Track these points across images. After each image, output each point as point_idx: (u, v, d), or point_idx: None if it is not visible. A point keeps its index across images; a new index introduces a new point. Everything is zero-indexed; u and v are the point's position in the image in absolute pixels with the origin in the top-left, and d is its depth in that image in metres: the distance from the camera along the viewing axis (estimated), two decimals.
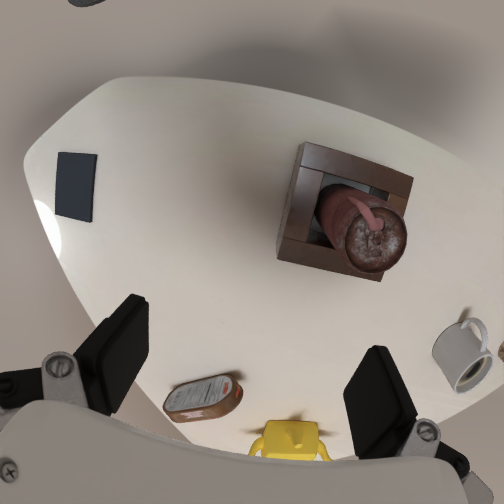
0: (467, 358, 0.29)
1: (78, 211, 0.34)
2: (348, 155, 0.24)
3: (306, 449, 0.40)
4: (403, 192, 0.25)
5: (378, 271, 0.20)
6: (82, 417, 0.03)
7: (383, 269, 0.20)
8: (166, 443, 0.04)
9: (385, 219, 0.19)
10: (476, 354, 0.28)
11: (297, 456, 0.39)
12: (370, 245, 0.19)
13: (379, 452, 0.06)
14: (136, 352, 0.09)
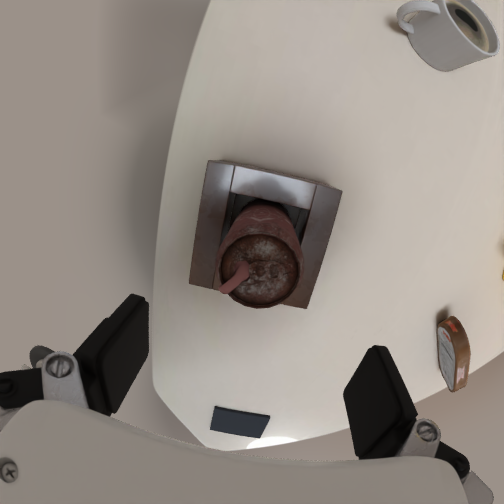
0: (451, 34, 0.14)
1: (259, 423, 0.42)
2: (195, 243, 0.26)
3: None
4: (226, 173, 0.23)
5: (298, 263, 0.18)
6: (82, 417, 0.03)
7: (296, 257, 0.17)
8: (166, 442, 0.04)
9: (234, 261, 0.18)
10: (444, 20, 0.13)
11: None
12: (265, 278, 0.18)
13: (379, 452, 0.06)
14: (136, 352, 0.09)
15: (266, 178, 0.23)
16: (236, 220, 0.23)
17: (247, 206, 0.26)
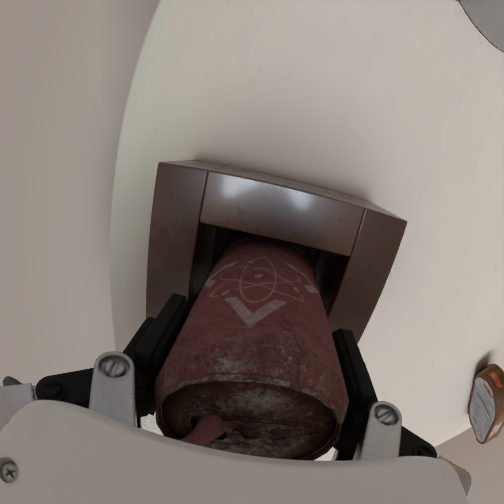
0: None
1: None
2: (148, 306, 0.14)
3: None
4: (192, 187, 0.12)
5: (337, 422, 0.06)
6: (82, 417, 0.03)
7: (335, 414, 0.06)
8: (166, 443, 0.04)
9: (190, 412, 0.07)
10: None
11: None
12: (260, 442, 0.07)
13: None
14: None
15: (270, 196, 0.12)
16: (208, 284, 0.11)
17: (235, 243, 0.15)
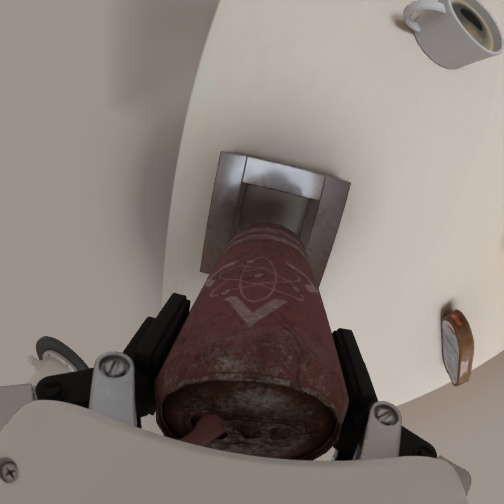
0: (457, 33, 0.14)
1: None
2: (207, 231, 0.26)
3: None
4: (239, 164, 0.24)
5: (338, 421, 0.06)
6: (82, 417, 0.03)
7: None
8: (166, 442, 0.04)
9: (190, 412, 0.07)
10: (450, 19, 0.13)
11: None
12: (260, 441, 0.07)
13: None
14: None
15: (277, 169, 0.24)
16: (208, 283, 0.11)
17: (235, 242, 0.15)
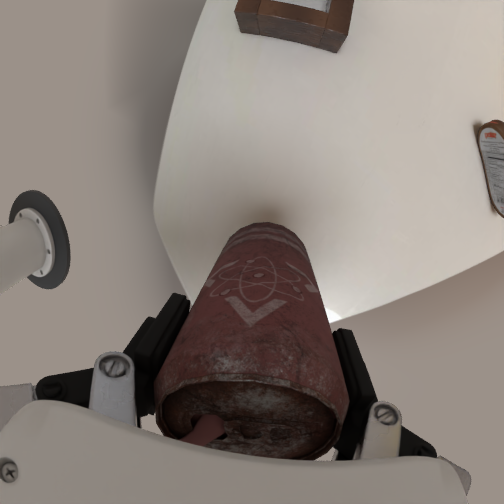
0: None
1: None
2: None
3: None
4: None
5: (338, 422, 0.06)
6: (82, 417, 0.03)
7: (335, 414, 0.06)
8: (166, 442, 0.04)
9: (189, 412, 0.07)
10: None
11: None
12: (260, 442, 0.07)
13: None
14: None
15: None
16: (208, 283, 0.11)
17: (235, 242, 0.15)
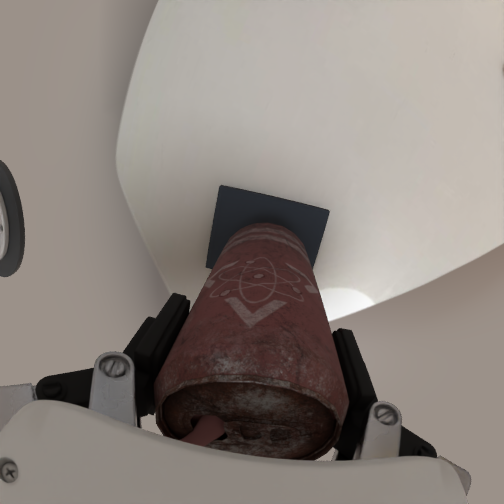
0: None
1: (308, 233, 0.24)
2: None
3: None
4: None
5: (338, 422, 0.06)
6: (82, 417, 0.03)
7: None
8: (166, 442, 0.04)
9: (189, 413, 0.07)
10: None
11: None
12: (260, 443, 0.07)
13: None
14: None
15: None
16: (208, 284, 0.11)
17: (235, 243, 0.15)
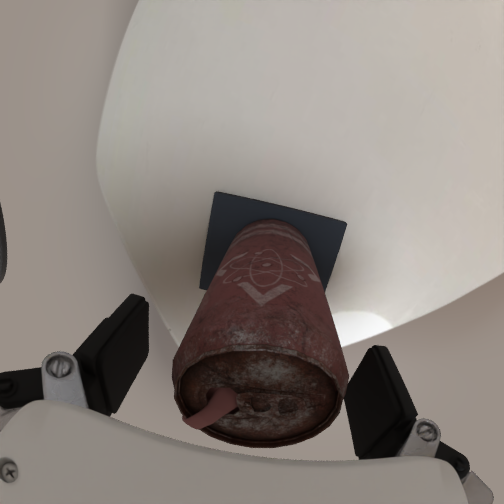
0: None
1: (321, 250, 0.20)
2: None
3: None
4: None
5: (339, 393, 0.07)
6: (82, 417, 0.03)
7: (337, 386, 0.07)
8: (166, 443, 0.04)
9: (206, 386, 0.08)
10: None
11: None
12: (269, 415, 0.08)
13: (379, 452, 0.06)
14: (136, 352, 0.09)
15: None
16: (219, 273, 0.12)
17: (243, 237, 0.16)
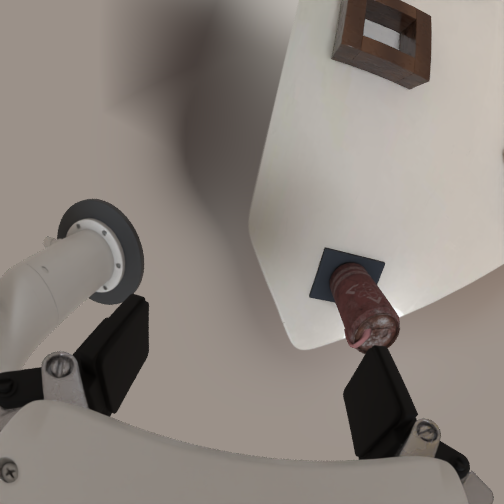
0: None
1: (372, 276, 0.38)
2: (346, 18, 0.22)
3: None
4: None
5: (398, 328, 0.25)
6: (82, 417, 0.03)
7: (398, 325, 0.25)
8: (166, 442, 0.04)
9: (364, 329, 0.26)
10: None
11: None
12: (379, 337, 0.26)
13: (379, 452, 0.06)
14: (136, 352, 0.09)
15: None
16: (350, 292, 0.31)
17: (347, 274, 0.34)
